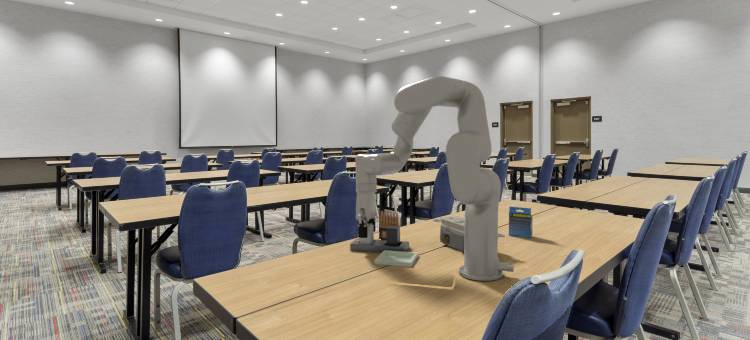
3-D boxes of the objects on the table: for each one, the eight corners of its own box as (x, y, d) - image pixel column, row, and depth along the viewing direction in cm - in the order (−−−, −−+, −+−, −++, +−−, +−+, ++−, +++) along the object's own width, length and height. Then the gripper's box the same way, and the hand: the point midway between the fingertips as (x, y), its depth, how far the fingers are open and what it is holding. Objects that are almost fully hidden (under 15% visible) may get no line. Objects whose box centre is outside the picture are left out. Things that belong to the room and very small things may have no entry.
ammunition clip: (400, 243, 158) (400, 213, 157) (397, 244, 156) (396, 213, 156) (382, 238, 166) (382, 209, 165) (378, 239, 165) (378, 210, 164)
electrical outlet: (449, 236, 165) (450, 212, 164) (507, 258, 142) (509, 230, 140) (427, 241, 158) (429, 216, 157) (484, 264, 135) (486, 235, 134)
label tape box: (532, 236, 167) (533, 206, 166) (530, 238, 164) (531, 208, 163) (510, 233, 172) (511, 205, 171) (508, 235, 168) (508, 206, 167)
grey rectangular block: (373, 248, 150) (373, 223, 150) (370, 251, 147) (370, 225, 146) (363, 248, 152) (363, 222, 151) (359, 251, 148) (359, 225, 147)
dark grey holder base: (413, 245, 155) (412, 221, 155) (404, 255, 141) (404, 230, 140) (363, 241, 161) (363, 219, 160) (350, 251, 147) (349, 227, 146)
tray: (418, 257, 139) (418, 252, 138) (411, 268, 127) (411, 262, 127) (384, 255, 142) (384, 250, 142) (374, 265, 131) (374, 260, 130)
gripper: (363, 185, 157) (364, 229, 158) (348, 190, 140) (349, 239, 141) (382, 185, 154) (383, 230, 156) (369, 191, 138) (370, 240, 139)
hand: (367, 234), depth 148 cm, fingers open, 9 cm apart
